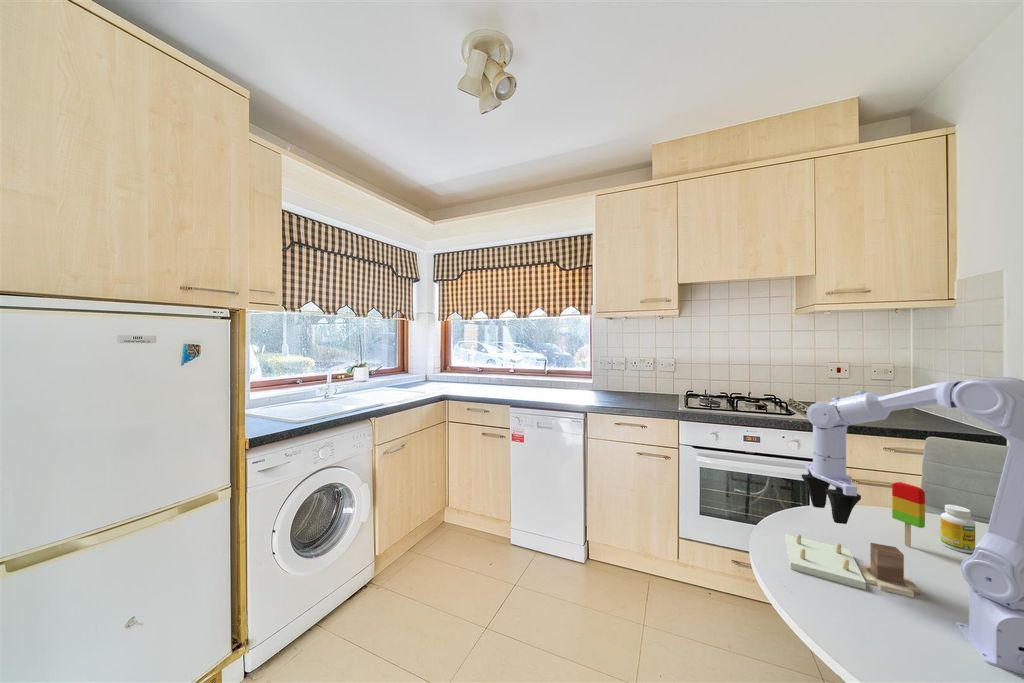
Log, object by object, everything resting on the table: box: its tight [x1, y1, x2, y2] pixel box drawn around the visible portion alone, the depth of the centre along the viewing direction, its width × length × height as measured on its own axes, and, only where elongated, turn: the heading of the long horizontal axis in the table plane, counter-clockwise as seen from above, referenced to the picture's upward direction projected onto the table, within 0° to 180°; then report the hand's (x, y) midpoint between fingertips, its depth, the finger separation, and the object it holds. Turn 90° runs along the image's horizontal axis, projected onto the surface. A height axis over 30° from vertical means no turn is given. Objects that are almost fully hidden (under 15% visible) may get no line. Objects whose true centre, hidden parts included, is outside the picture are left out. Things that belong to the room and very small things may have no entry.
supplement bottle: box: [940, 504, 976, 554], centre depth 88 cm, size 5×5×10 cm
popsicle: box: [891, 481, 926, 548], centre depth 89 cm, size 6×2×15 cm, turn 16°
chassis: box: [784, 533, 867, 591], centre depth 82 cm, size 14×12×4 cm
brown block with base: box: [857, 542, 921, 598], centre depth 76 cm, size 8×8×7 cm
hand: (828, 514), depth 83 cm, fingers open, 7 cm apart
